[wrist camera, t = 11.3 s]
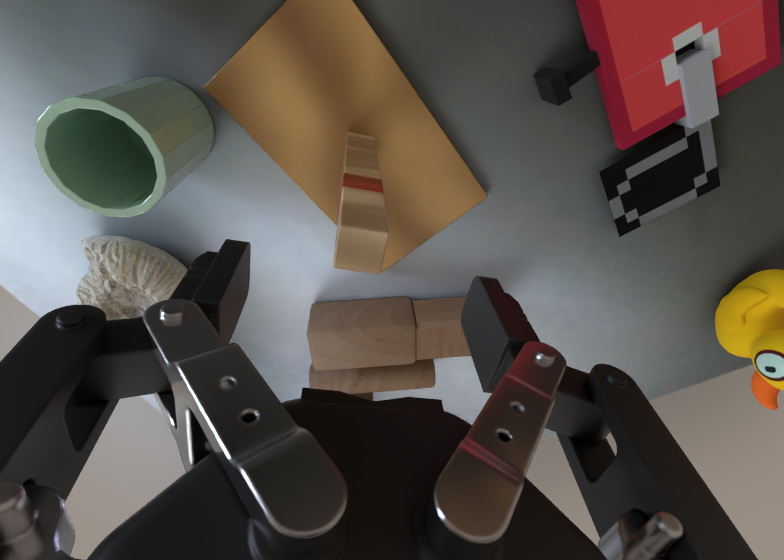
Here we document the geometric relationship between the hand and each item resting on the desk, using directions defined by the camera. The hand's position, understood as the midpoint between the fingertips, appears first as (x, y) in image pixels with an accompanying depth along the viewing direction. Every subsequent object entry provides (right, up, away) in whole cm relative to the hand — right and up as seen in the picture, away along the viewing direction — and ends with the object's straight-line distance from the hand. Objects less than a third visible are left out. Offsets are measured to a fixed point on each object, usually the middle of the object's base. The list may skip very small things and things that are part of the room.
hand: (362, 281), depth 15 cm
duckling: (+35, -2, +27) cm, 45 cm away
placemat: (-1, +10, +16) cm, 19 cm away
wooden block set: (+2, -8, +28) cm, 30 cm away
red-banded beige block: (-1, +10, +16) cm, 18 cm away
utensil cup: (-15, +11, +14) cm, 23 cm away
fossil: (-20, 0, +21) cm, 29 cm away
